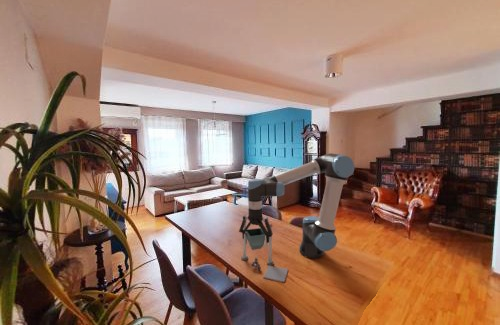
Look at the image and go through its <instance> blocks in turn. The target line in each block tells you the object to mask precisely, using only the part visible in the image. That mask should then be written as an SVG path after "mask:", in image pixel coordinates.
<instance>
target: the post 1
mask: <svg viewBox="0 0 500 325" xmlns="http://www.w3.org/2000/svg"><path fill="white" fill-rule="evenodd" d="M246 226H247V221H246V222H245V225H244V228H243V230H244V229H245V228H246ZM240 258H241V261H247V260H249V257H248V256H247V245H246V246H244V239H243V238H242V256H241V257H240Z"/></svg>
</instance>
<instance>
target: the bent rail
mask: <svg viewBox="0 0 500 325" xmlns="http://www.w3.org/2000/svg"><path fill="white" fill-rule="evenodd" d="M258 260H259V259H258V257H255V258H254V259H253V261H252V263H250V267H251V268H257V271H258V272H261V269H262V268H261V266H260V264H258V262H259V261H258Z"/></svg>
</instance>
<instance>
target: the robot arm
mask: <svg viewBox="0 0 500 325" xmlns="http://www.w3.org/2000/svg"><path fill="white" fill-rule="evenodd" d="M354 171H355V162H354V161H353V159H352V158H351V157H349V155H345V154H340V153H339V154H338V153H331V152H330V153H326V154H324V155H320V156H318V157H316V158H313V159H311V161H310V162H308V163H304V164H302V165H299V166H296V167H293V168H291V169H289V170H286V171H283V172H281V173H278V174H276V175H272V176H265V177H263V178H262V179H260V178H253V179H249V180H248V182H247V184H248V185H247V199H248V201H247V202H248V205H247V206H248V210H247V211H248V215H247V214H245V215H244V216H242V221H241V224H240V228H239V230H238V232H239V233H241V235H242V237H241V238H242V240H243V239H244V246H246V247H247V244H248V240H247V234H246V230H248V229H250V226H251V225H252V226H254V225H256V226H258V228H261V229H262V231H263V232H264V234H265V241H264V250H268V243H269V237H271V236H272V237H273V234H274V233H273V229H272V230H271V228H270V225H269V223H270V222H269V218H268V217H263V198H268V197H271V198H272V197H282V196H284V195H285V192H286V190H285V189H286V188H285V186H286V185H289V184H291V183H294V182H296V181H299V180H302V179H305V178H307V177H311V176H312V175H313V176H314V175H315V174H317V175H320V174H324V173H325V174H324V177H325V178H326V184H325V187H324V193H323V196H322V197H323V198H322V200H321V206H320V209H319V214H318V216H313V215H312V216H310V215H309V216H305V217H303V219H302V239H301V243H300V244H299V253H300V255H302V256H303V257H305V258H309V259H321V258H323V257H324V255H325V252H328V251H331V250H333V249H334V248H335V247H336V245H338V244H337V243H338V237H337V235H336V234H335V233H336V230H337V227H336V226H335V220H336V217H337V211H338V208H339V205H340V204H339V202H340V200H341V195H342V190H343V188H344V187H343V186H344V183H346V182H348V178H349V177H350V176H351V175H353V173H354ZM247 220H248V221H249V222H248V223H247ZM245 222H246V223H247V224H246V228H245V229H244V230H243V228H244V225H245ZM263 222H264V223H263ZM264 224H265V225H264Z"/></svg>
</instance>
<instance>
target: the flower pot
mask: <svg viewBox="0 0 500 325" xmlns="http://www.w3.org/2000/svg"><path fill="white" fill-rule="evenodd" d="M246 234H247V244H248V245H249V246H250V248H251V250H253V251H254V250H261V249H262V248H263V247H264V246H265V234H264V232H263V231H262V229H261V228H260V227H258V228H248V229H247V230H246Z"/></svg>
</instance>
